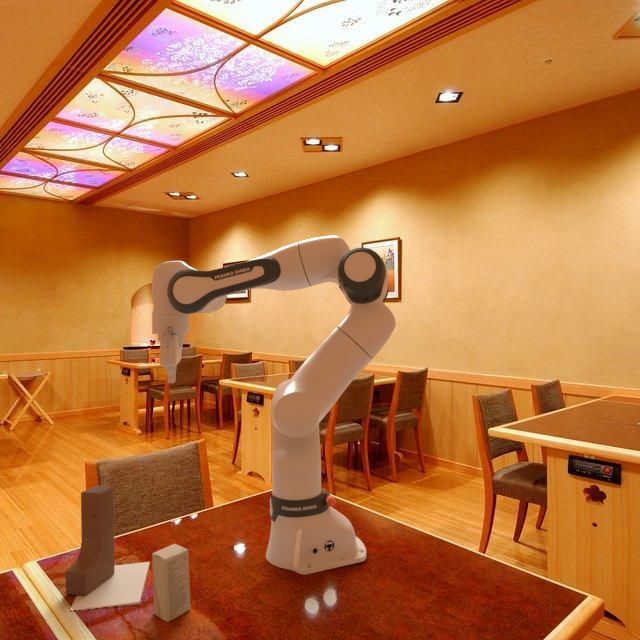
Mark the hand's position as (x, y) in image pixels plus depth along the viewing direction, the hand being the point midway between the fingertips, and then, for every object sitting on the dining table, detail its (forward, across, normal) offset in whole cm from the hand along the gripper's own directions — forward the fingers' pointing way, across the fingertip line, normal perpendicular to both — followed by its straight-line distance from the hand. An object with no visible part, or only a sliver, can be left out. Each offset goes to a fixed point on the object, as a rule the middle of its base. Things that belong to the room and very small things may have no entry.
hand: (171, 382), depth 126 cm
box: (+37, -36, -2) cm, 52 cm away
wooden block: (+37, -23, +14) cm, 46 cm away
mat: (+37, -24, +10) cm, 45 cm away
